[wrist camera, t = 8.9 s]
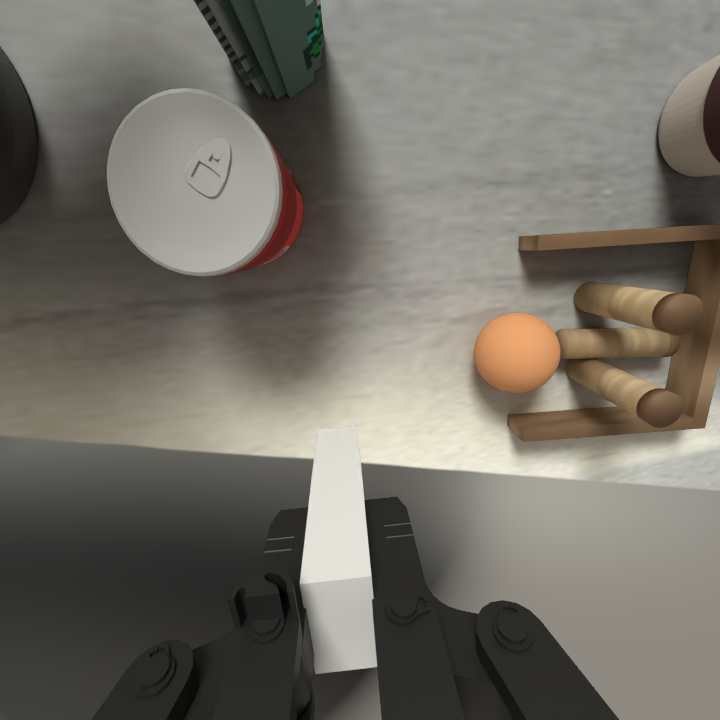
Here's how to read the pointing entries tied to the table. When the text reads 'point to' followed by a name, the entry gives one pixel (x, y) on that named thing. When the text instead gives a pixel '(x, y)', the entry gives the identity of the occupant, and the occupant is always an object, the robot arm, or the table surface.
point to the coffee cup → (693, 123)
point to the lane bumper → (688, 365)
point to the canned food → (201, 185)
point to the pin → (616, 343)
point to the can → (269, 41)
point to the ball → (517, 352)
